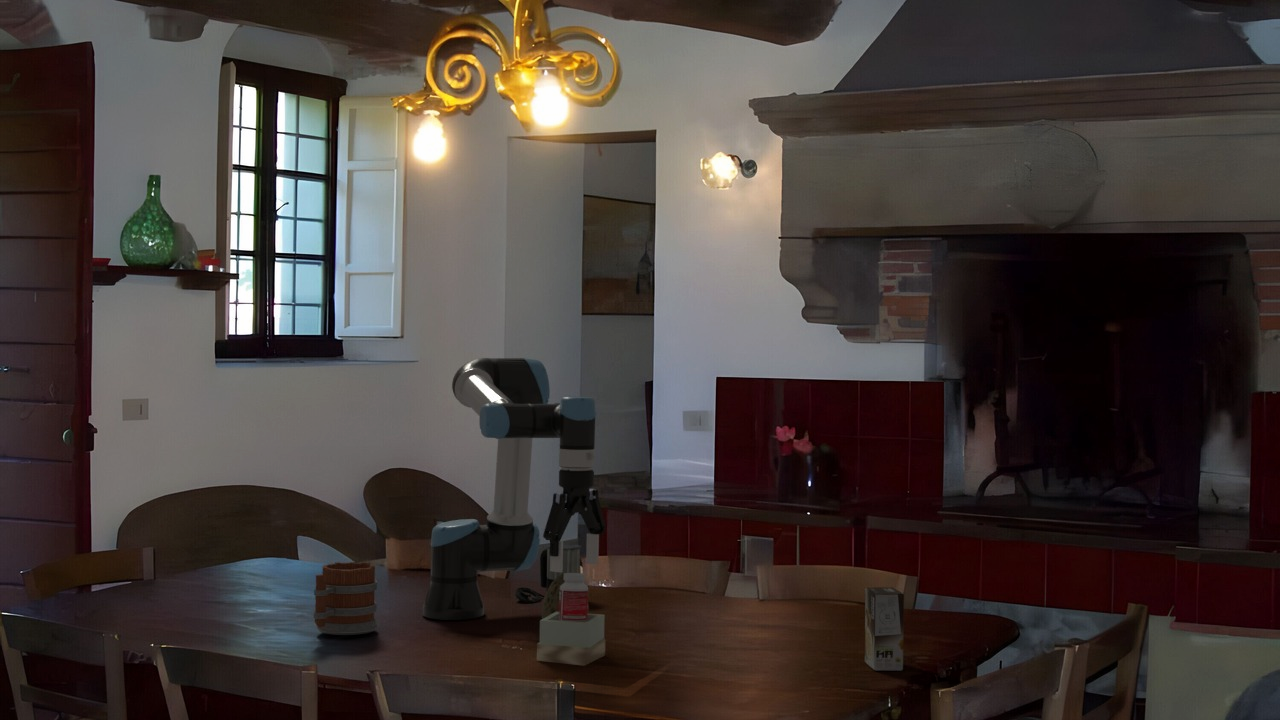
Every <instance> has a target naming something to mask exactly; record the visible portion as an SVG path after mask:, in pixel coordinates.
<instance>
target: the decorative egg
mask: <svg viewBox="0 0 1280 720" xmlns="http://www.w3.org/2000/svg"><path fill="white" fill-rule="evenodd" d="M563 578H564V574H561V575H560V576H558V577H557V578H556V579H555V580H554V581H553V582H552V583H551V585H550V586H549V588H548V590H547V592H545V594H544V595H543V596H544V597H543V601H542V604H541V618H542V619H544V618H545V617H547V616H549V615H551V614H553V613H555V612H559V593H560V586H561V585H562V584H563V583H564V582H565V580H564V579H563ZM588 614H590V605H589V603H588ZM542 619H541V620H542Z"/></svg>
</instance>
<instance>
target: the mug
mask: <svg viewBox="0 0 1280 720" xmlns="http://www.w3.org/2000/svg"><path fill="white" fill-rule="evenodd" d="M321 573H322V574H316V575H315V588H314V591H313V595H314V596H315V597H314V598H315V605H314V606H315V609H314V610H315V611H313V619H314V623H315V625H316V626H317V627H316V628H317V630H318V632H320V633H322V634H327V635H333V636H353V635H354V636H355V635H363V634H369V633H372V632H375V631H376V630H377V629H379V625H378V623H377V621H376V619H375V613H376V612H377V609H378V608H377V607H378V605H377V603H378V602H376V601H375V591H376V590H377V589H378V580H377V579H376V578H375V577H376V576H375V575H376V565H375V564H374V563H371V562H367V561H362V562H354V561H349V562H339V561H336V562H334V563H329V564H324V565H323V566H322V572H321Z"/></svg>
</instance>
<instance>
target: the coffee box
mask: <svg viewBox="0 0 1280 720" xmlns="http://www.w3.org/2000/svg"><path fill="white" fill-rule="evenodd" d="M864 589H865V591H864V592H865V603H864V605H865V606H864V624H865V625H864V663H866V664H867V665H868V666H869V667H870V668H871V669H873V671H875V672H876V671H883V672H884V671H886V672H887V671H891V672H892V671H895V672H896V671H899V672H902V671H903V669H904V621H905V620H904V617H905V616H904V614H905V603H904V602H905V593H903V592H901V591H899V590H898V589H896V588H894V587H893V586H892V587H891V586H890V587H888V586H884V587H882V586H879V587H878V586H876V587H865V588H864Z"/></svg>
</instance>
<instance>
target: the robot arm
mask: <svg viewBox="0 0 1280 720" xmlns="http://www.w3.org/2000/svg"><path fill="white" fill-rule="evenodd" d="M451 389H452V393H453V395H454V397H455V399H456V400H457V401H458V402H459V403H460V404H461V405H463V406H464V407H467V408H471V409H472V410H473V411H474V412H475V414H477V415H478V416H479V423H478V424H479V429H480V432H481V435H482V436H483V437H484V438H488V439H489V438H490V439H496V440H497V451H496V465H495V466H496V467H495V481H494V482H495V484H494V495H493V496H494V497H493V510H492V511H491V512H490V513H488V515H487V516H486V524H480V522H479V520H477V519H474V518H469V519H467V518H466V519H457V520H456V519H454V520H449V521H445V522H441V523H438V524H436V525H435V526H434V527H433V528H432V531H431V541H430V544H429V545H430V583H429V588H428V591H427V592H426V597H425V599H424V603H423V605H422V616H424V618H427V619H432V620H433V619H434V620H441V621H442V620H445V621H446V620H447V621H459V620H460V621H461V620H471V619H477V618H480V617H481V618H482V617H483V616H484V615H485V605H484V602H483V598H482V594H481V591H480V588H479V583H478V579H479V578H478V577H479V576H478V575H479V572H480V573H482V572H505V571H506V572H508V571H511V572H517V571H522V570H529V569H530V568H532V566H533V565H534V564H535V563H536V560H537V557H538V553H539V550H540V543H541V542H540V541H541V540H540V530H539V527H538V525H537V524H536V523H534V518H533V517H532V516H531V514H530V513H529V512H528V511H529V510H528V509H529V496H530V481H531V478H530V477H531V463H532V451H533V450H532V448H533V439H559V450H558V451H559V454H558V458H559V459H558V467H560V468H561V469H559V471H558V486H559V487H560V488H562V493H561V492H560V493H559V492H554V493H553V496H552V505H551V507H550V511H549V515H548V517H547V520H546V524H545V526H544V527H545V528H544V531H543V536H542V537H543V539H545V540H546V541H549V544H550V571H552V572H560V573H561V572H563V544H564V540H561V539H562V538H563V535H564V533H565V531H566V528H567V527H568V525H569V522H570V520H571V518H572V517H573V516H574V515H575V514H577V513H578V514H579V513H580V516H581V518H582V520H583V521H584V524H585V526H586V529H587V530H588V532H589V533H586V545H585V546H586V547H585V548H586V551H585V552H586V554H585V556H586V557H585V563H586V564H587V565H588V564H589V565H596V566H597V565H599V552H600V551H599V549H600V535H603V534H604V533H605V530H606V527H607V526H606V523H605V518H604V514H603V510H602V507H601V503H600V500H599V489H595V488H593V487H594V485H595V471H594V470H593V469H592V468H594V467H595V445H596V444H595V443H596V442H595V441H596V440H595V439H596V417H597V412H596V401H595V399H594V398H593V397H591V396H563V397H562V398H561V399H560V403H559V402H558V403H557V402H555V403H549V399H550V395H551V394H550V392H551V391H550V389H551V388H550V381H549V376H548V372H547V370H546V366H545V365H544V364H543V362H541V361H540V360H538V359H533V358H532V359H531V358H525V357H521V358H518V357H517V358H516V357H513V358H510V357H509V358H507V357H504V358H502V357H500V358H499V357H498V358H497V357H495V358H493V357H492V358H491V357H490V358H489V357H479V358H476V359H473V360H470V361H468V362H466V363H465V364H463V365H462V366H460V367H459V368H458V369H457V371H456V372H455V374H454V375H453V378H452V384H451Z"/></svg>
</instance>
